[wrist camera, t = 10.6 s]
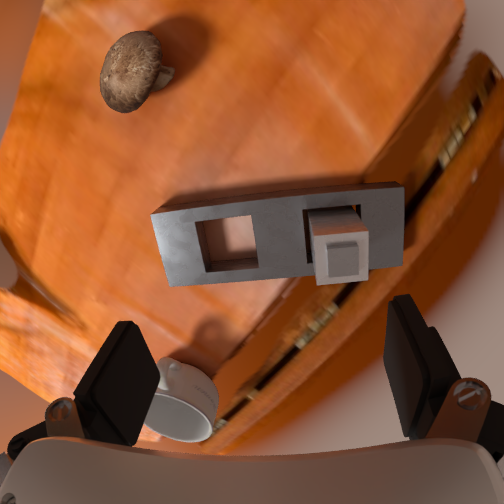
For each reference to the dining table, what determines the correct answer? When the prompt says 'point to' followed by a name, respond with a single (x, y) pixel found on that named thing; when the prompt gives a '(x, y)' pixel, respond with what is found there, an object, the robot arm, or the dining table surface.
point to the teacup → (183, 402)
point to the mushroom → (133, 71)
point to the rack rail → (275, 232)
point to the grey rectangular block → (338, 245)
